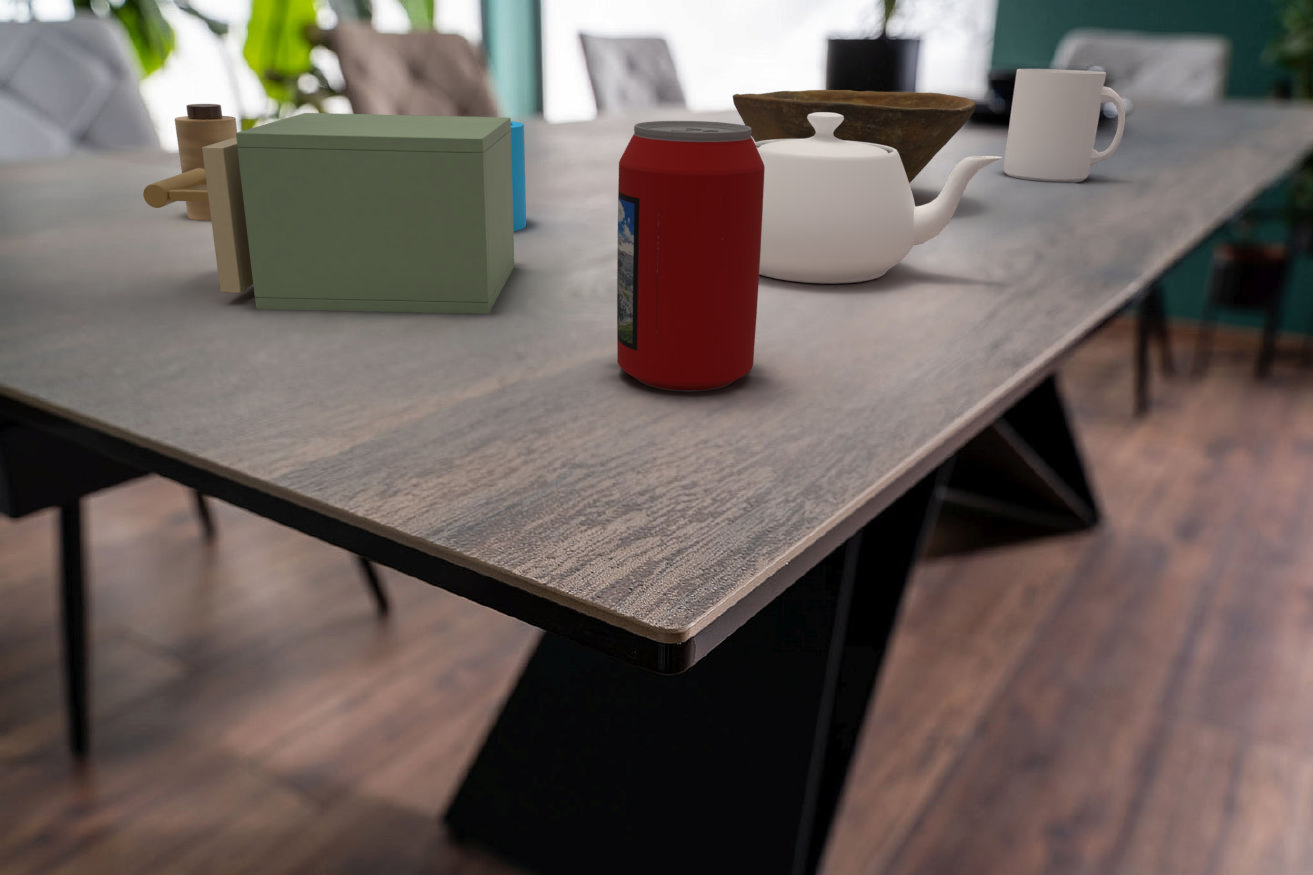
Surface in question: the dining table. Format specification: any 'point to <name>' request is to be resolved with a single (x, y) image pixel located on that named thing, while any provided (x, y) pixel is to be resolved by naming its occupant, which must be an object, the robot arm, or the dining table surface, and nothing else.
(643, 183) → the beverage can
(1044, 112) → the mug
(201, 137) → the pepper mill
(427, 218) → the cabinet
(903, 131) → the bowl
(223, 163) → the drawer
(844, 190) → the teapot
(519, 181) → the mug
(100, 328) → the dining table surface
